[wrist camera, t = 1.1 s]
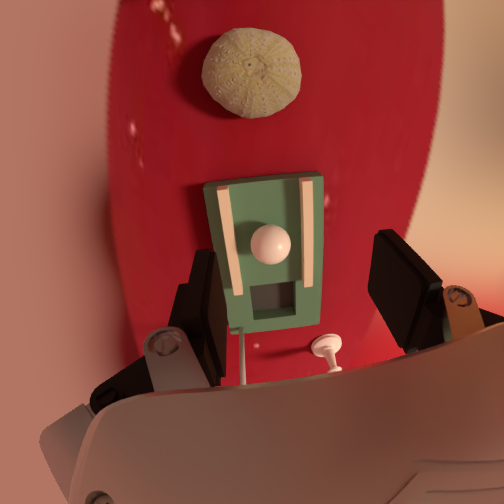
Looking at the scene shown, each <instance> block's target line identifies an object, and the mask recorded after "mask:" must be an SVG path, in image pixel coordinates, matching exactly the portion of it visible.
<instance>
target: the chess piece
mask: <svg viewBox="0 0 504 504" xmlns="http://www.w3.org/2000/svg"><path fill="white" fill-rule="evenodd" d="M341 344H342V343H341V338H340V337H339V336H338V335H336V334H325V335H322V336H320V337H318V338H317V339H316V340H314V342H313V343H312V345H311V349H312V351H313V353H314V354H315V355H316V356H319V357H325V358H326V360H327V362H328V364H329V367H330V369H329V370H328V373H331V372H336V371H341V370H342V369H341V367H337V365H336V360H335V354H334V353H336V352H337V351H338V350H339V349H340V347H341Z"/></svg>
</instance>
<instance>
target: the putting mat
mask: <svg viewBox="0 0 504 504" xmlns="http://www.w3.org/2000/svg"><path fill="white" fill-rule="evenodd" d="M203 192H204V198H205V203H206V209H207V215H208V221H209V226H210V232H211V237H212V242H213V248H214V252H216V254H217V259H218V264H219V269H220V274H221V279H222V285H223V290H224V295H225V300H226V305H227V318H228V322H229V327H230V332H231V334H239V349H240V385H246V375H245V351H244V333H252V332H262V331H270V330H279V329H286V328H294V327H301V326H308V325H315V324H319V322H320V308H321V291H322V268H323V227H324V195H323V175H321V174H320V173H319V172H303V173H290V174H279V175H268V176H258V177H249V178H240V179H232V180H224V181H216V182H209V183H205V184H204V187H203ZM268 224H273V225H277V226H280V227H281V228H283V229H284V230H285V231H286V232H287V234H288V235H289V238H290V242H291V247H290V251H289V254H288V255H287V257H286V258H285V259H284V260H283V261H281V262H280V263H277V264H272V265H269V264H264V263H262V262H260V261H259V260H257V259H256V258H255V256H254V255H253V253H252V251H251V238H252V236H253V234H254V233H255V231H256V230H257V229H258V228H260V227H262V226H264V225H268Z"/></svg>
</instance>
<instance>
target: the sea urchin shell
mask: <svg viewBox="0 0 504 504" xmlns="http://www.w3.org/2000/svg"><path fill="white" fill-rule="evenodd" d="M201 77H202V81H203V85H204V86H205V88H206V89H207V91H208V92H209V94H210V95H211V96H212V98H213V99H214V100H215V101H217V102H218V103H219V104H221V105H222V106H223V108H225V109H226V110H229V111H230V112H232V113H235V114H237V115H239V116H241V117H244V118H250V119H251V118H258V117H265V116H266V117H267V116H269V115H272V114H273V113H275V112H277V111H280V110H281V109H284V108H285V106H287V105H288V104H289V103H290V102H291V101H293V100H294V99H295V98H296V96H297V94H298V92H299V91H300V82H301V77H302V75H301V70H300V62H299V58H298V56H297V54H296V52H295V50H294V48H293V46H292V44H290V43H289V42H288V41H287V40H286V38H283V37H281V36H280V35H277V34H275V33H273V32H271V31H265V30H260V29H256V28H252V27H251V28H238V29H235V28H234V29H233V30H230V31H228V32H225V33H224V34H223V35H222V36H221V37H220V38H219V39H218V40H217V41H216V42H214V43H213V44H212V46H211V48H210V50H209V52H208V54H207V56H206V58H205V59H204V63H203V69H202V75H201Z"/></svg>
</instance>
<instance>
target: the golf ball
mask: <svg viewBox="0 0 504 504" xmlns="http://www.w3.org/2000/svg"><path fill="white" fill-rule="evenodd" d="M290 247H291V242H290V238H289V235H288V234H287V232H286V231H285V230H284V229H283V228H281V227H280V226H277V225H273V224H268V225H264V226H262V227H260V228H258V229H257V230H256V231H255V233H254V234H253V236H252V238H251V251H252V253H253V255H254V256H255V258H256V259H257V260H259V261H260V262H262V263H264V264H269V265H272V264H277V263H280V262H281V261H283V260H284V259H285V258H286V257H287V255H288V254H289V251H290Z"/></svg>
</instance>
